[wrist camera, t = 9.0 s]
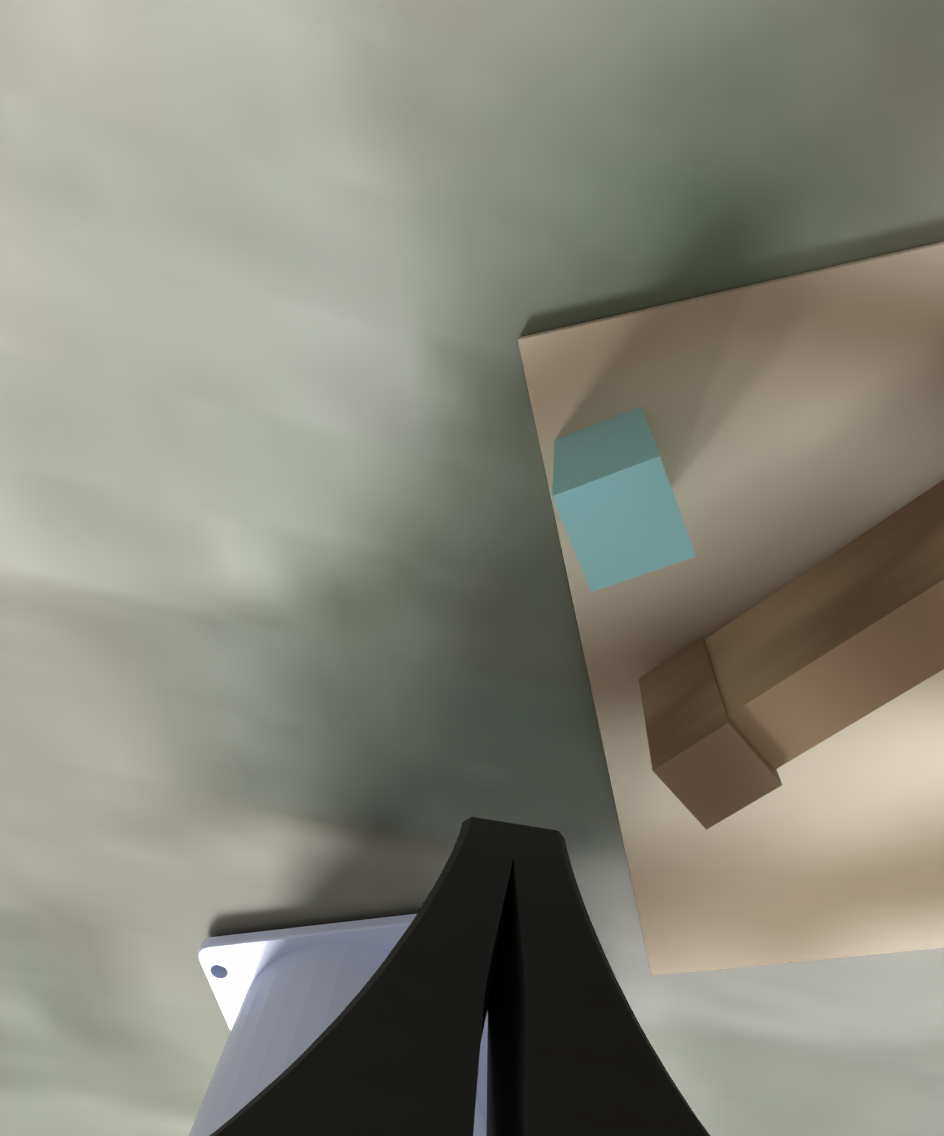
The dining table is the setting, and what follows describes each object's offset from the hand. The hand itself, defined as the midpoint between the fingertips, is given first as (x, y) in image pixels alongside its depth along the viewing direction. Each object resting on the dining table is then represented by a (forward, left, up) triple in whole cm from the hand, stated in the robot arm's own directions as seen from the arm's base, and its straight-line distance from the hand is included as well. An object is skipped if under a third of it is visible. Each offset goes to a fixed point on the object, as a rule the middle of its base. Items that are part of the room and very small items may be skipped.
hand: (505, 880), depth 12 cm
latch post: (+3, -3, -10) cm, 11 cm away
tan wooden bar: (0, -7, -9) cm, 12 cm away
